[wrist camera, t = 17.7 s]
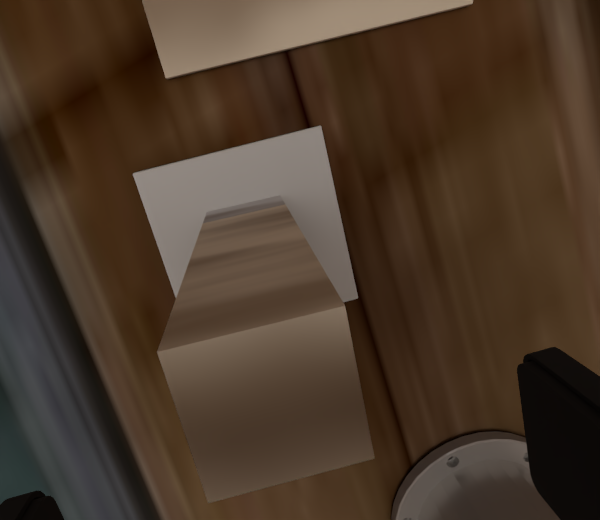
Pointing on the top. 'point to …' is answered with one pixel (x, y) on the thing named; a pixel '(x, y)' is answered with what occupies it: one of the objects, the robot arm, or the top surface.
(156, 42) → the oak board
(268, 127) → the top surface
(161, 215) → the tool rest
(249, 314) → the wooden block
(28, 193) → the top surface
